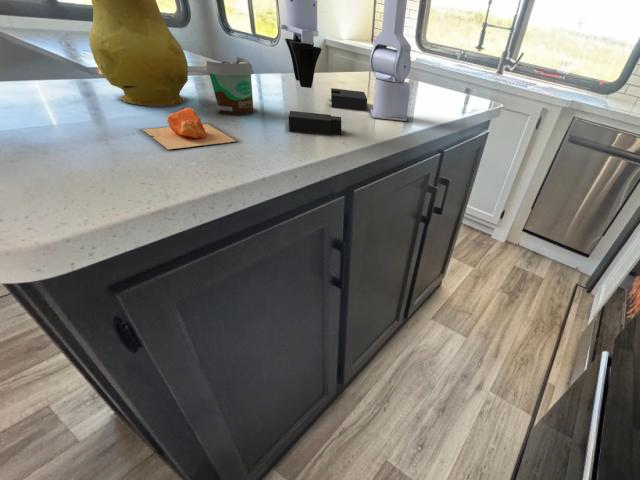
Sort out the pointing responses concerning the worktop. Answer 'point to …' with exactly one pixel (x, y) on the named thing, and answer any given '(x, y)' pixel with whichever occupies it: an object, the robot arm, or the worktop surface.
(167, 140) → the rock
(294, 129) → the black pad
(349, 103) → the graphite pad
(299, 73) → the robot arm
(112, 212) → the worktop surface
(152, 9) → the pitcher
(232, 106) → the food container
